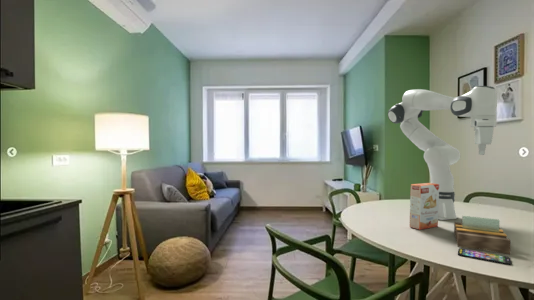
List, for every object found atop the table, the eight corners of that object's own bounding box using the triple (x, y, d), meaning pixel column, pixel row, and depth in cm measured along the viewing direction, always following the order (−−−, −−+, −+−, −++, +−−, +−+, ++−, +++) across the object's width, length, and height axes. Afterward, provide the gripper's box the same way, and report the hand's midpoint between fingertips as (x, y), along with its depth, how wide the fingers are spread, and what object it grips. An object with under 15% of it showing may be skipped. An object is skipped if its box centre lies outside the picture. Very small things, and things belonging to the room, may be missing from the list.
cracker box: (420, 230, 135) (421, 185, 134) (408, 227, 140) (409, 184, 140) (439, 226, 141) (439, 183, 141) (427, 223, 147) (428, 182, 146)
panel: (462, 238, 121) (462, 216, 121) (462, 237, 123) (462, 215, 122) (499, 243, 115) (499, 220, 115) (498, 241, 117) (498, 219, 116)
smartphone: (511, 264, 96) (457, 253, 105) (511, 267, 96) (457, 256, 105) (509, 256, 102) (458, 247, 111) (509, 259, 102) (458, 250, 111)
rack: (457, 246, 114) (458, 233, 114) (454, 232, 131) (454, 221, 131) (510, 254, 106) (510, 239, 106) (498, 238, 124) (499, 226, 123)
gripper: (471, 124, 137) (470, 153, 138) (477, 121, 120) (475, 155, 120) (488, 124, 134) (486, 153, 135) (496, 121, 117) (495, 156, 117)
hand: (481, 154), depth 127 cm, fingers closed
